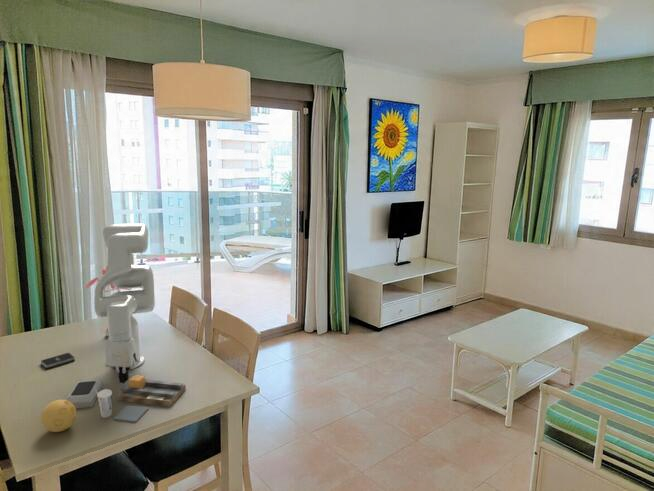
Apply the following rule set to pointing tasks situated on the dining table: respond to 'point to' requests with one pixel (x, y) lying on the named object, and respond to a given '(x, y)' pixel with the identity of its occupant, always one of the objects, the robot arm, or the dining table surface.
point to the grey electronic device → (85, 393)
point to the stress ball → (58, 415)
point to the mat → (131, 413)
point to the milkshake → (105, 402)
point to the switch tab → (137, 382)
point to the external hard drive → (57, 360)
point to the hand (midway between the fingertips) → (123, 381)
